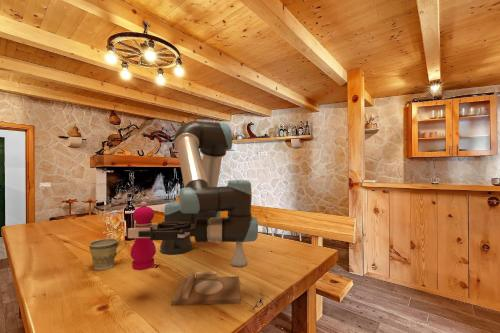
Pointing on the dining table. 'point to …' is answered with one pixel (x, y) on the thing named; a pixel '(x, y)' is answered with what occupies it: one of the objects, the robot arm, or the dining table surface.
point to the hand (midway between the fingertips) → (132, 230)
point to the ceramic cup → (104, 252)
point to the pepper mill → (143, 240)
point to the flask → (239, 256)
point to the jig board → (207, 289)
